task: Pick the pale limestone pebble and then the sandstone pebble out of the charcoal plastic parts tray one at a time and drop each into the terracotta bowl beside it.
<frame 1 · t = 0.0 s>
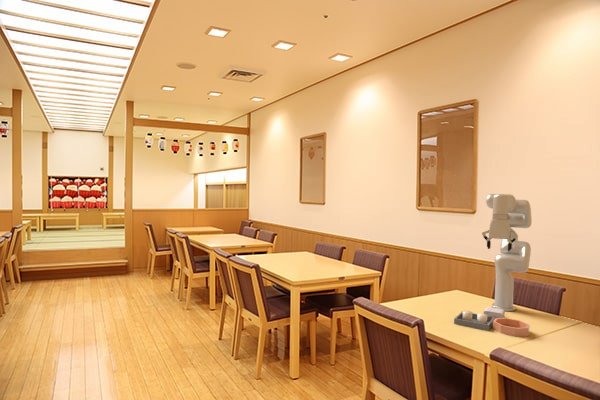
hand: (498, 249, 214), 37 cm above the table, tool pointing down, fingers open, 9 cm apart
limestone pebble: (481, 324, 202), resting on parts tray
charger: (494, 317, 217), on the table
bowl: (510, 331, 195), on the table
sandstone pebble: (467, 321, 206), resting on parts tray
parts tray: (474, 323, 204), on the table
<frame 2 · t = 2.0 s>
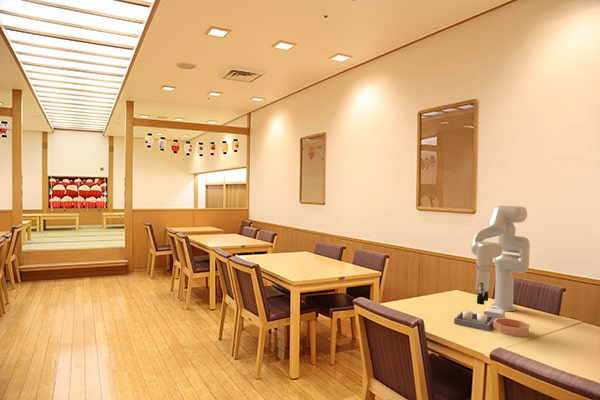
hand: (482, 302, 201), 12 cm above the table, tool pointing down, fingers open, 9 cm apart
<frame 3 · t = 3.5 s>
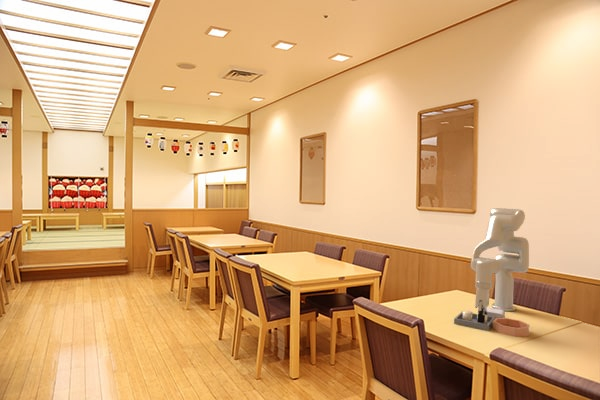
hand: (482, 320, 202), 2 cm above the table, tool pointing down, fingers closed on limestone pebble, 4 cm apart
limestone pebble: (481, 324, 202), resting on parts tray, touching gripper
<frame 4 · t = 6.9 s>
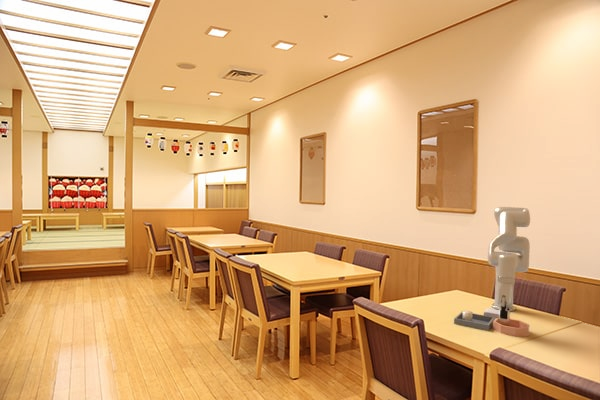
hand: (504, 316, 196), 6 cm above the table, tool pointing down, fingers closed on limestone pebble, 4 cm apart
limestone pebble: (504, 320, 196), point 5 cm above the table, touching gripper
charger: (495, 319, 214), on the table
everything else where it was.
when the fingers open (5 cm above the table, at t = 7.5 s): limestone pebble drops 2 cm, resting on bowl.
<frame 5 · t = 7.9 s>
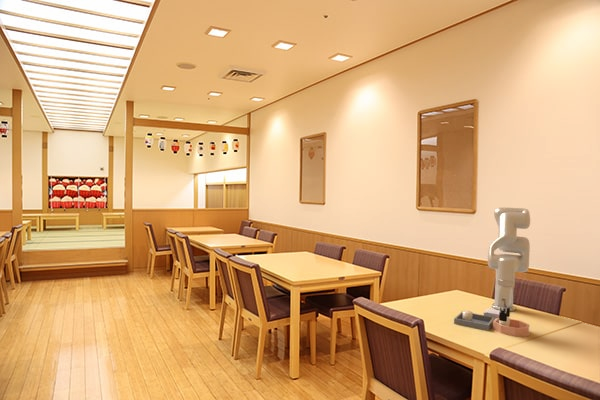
hand: (504, 318, 196), 6 cm above the table, tool pointing down, fingers open, 8 cm apart
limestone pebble: (504, 328, 196), point 1 cm above the table, touching bowl
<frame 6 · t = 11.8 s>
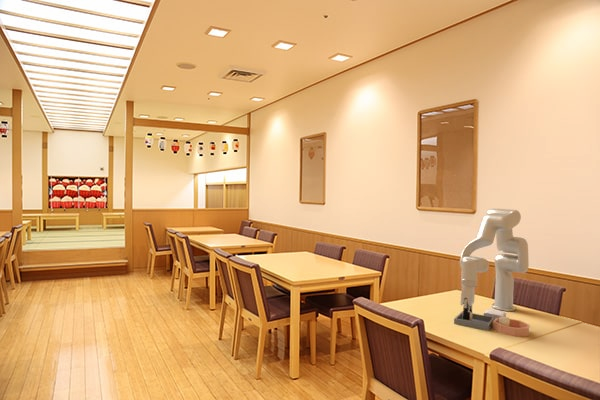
hand: (467, 317, 206), 2 cm above the table, tool pointing down, fingers closed on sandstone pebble, 4 cm apart
charger: (495, 320, 213), on the table
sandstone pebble: (467, 321, 206), resting on parts tray, touching gripper
everything else where it was.
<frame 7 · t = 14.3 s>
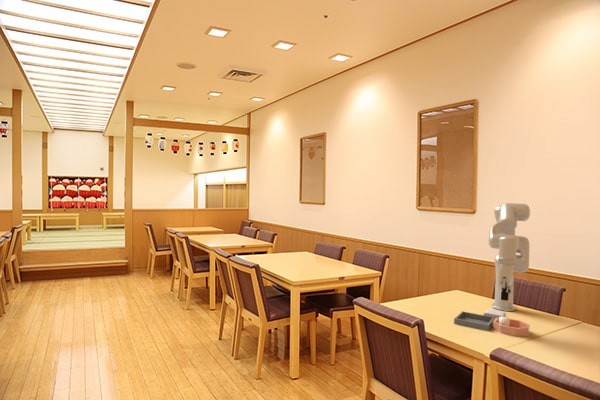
hand: (505, 298, 196), 15 cm above the table, tool pointing down, fingers closed on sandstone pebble, 4 cm apart
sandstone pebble: (505, 302, 196), point 14 cm above the table, touching gripper
everything else where it was.
when the fingers open (5 cm above the table, at t = 16.8 s): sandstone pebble drops 2 cm, resting on bowl.
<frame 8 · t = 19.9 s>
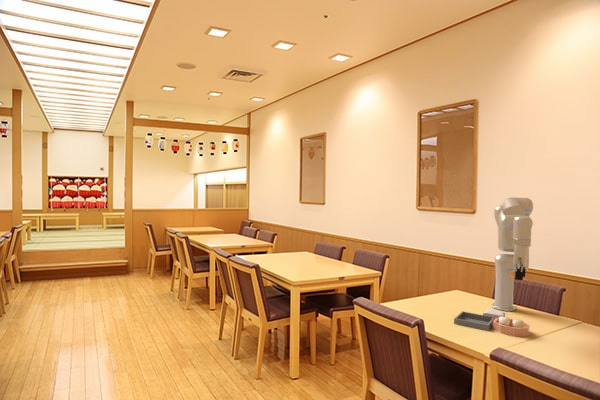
hand: (520, 278, 192), 26 cm above the table, tool pointing down, fingers open, 9 cm apart
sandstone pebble: (517, 331, 193), point 1 cm above the table, touching bowl
at the end: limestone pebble inside the target area on the bowl (3.0 cm from its centre), point 0.8 cm above the bowl's base; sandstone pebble inside the target area on the bowl (3.0 cm from its centre), point 0.8 cm above the bowl's base; the gripper is holding nothing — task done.
